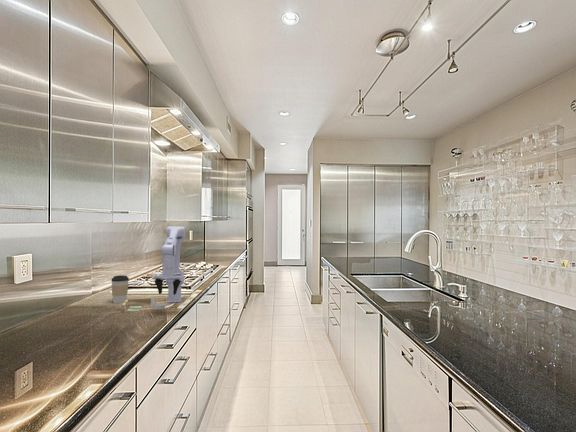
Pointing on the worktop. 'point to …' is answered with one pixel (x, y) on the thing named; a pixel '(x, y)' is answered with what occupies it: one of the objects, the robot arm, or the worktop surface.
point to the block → (156, 306)
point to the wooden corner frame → (135, 304)
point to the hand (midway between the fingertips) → (167, 293)
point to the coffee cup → (119, 288)
